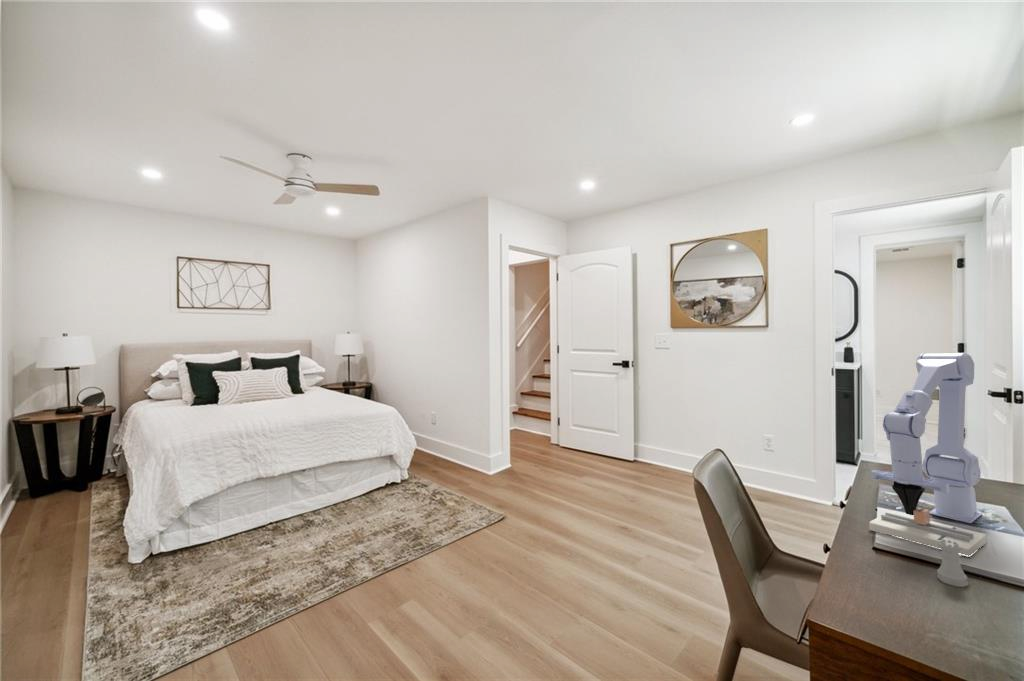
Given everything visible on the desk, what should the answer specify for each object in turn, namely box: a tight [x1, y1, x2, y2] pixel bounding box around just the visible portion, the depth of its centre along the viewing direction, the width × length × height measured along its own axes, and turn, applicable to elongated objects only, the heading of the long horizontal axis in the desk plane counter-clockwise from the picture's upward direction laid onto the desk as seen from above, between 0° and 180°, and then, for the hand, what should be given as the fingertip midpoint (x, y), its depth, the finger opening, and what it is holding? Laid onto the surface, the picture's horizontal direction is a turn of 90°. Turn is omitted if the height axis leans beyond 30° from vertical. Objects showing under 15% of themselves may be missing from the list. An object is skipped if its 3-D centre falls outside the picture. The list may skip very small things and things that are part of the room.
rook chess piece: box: [937, 540, 969, 588], centre depth 85 cm, size 4×4×8 cm
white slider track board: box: [868, 510, 988, 556], centre depth 104 cm, size 12×18×3 cm, turn 29°
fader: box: [913, 506, 931, 525], centre depth 104 cm, size 3×2×4 cm, turn 119°
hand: (910, 513), depth 106 cm, fingers closed
